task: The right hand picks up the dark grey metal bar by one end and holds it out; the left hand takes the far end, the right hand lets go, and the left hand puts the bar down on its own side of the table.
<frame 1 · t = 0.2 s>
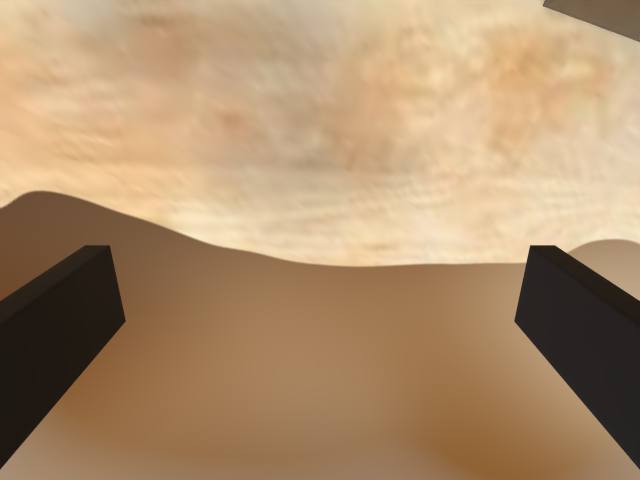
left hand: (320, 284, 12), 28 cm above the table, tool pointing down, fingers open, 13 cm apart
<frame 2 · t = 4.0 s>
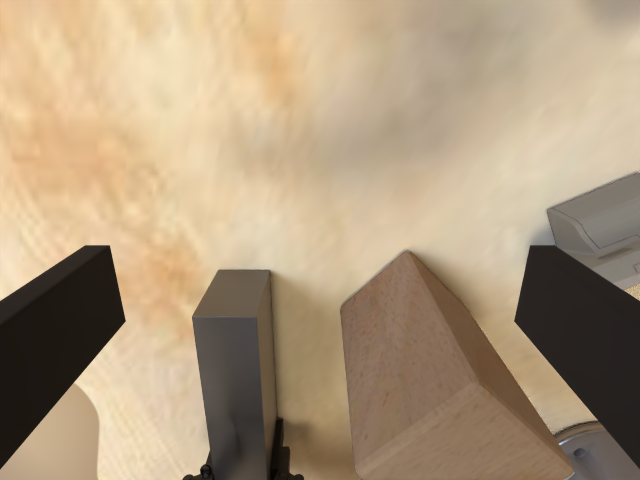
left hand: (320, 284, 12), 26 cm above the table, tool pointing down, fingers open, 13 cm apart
digital clock: (597, 226, 39), on the table
wooden block: (401, 306, 43), on the table
bar: (251, 366, 46), on the table, touching right hand
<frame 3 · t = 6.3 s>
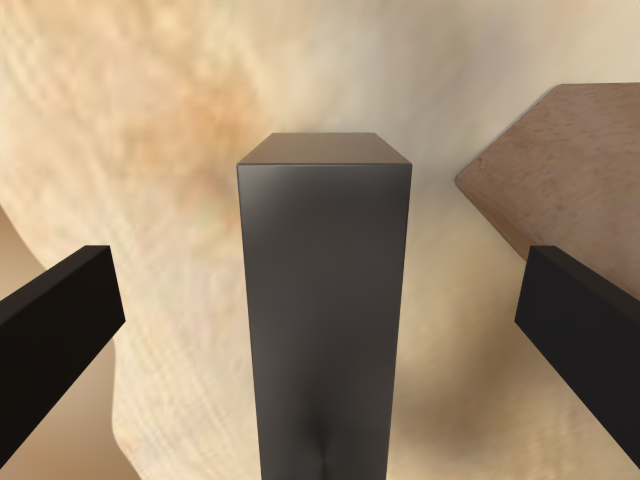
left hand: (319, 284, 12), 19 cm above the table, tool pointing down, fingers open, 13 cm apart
wooden block: (538, 177, 31), on the table
bar: (323, 334, 25), point 9 cm above the table, touching right hand
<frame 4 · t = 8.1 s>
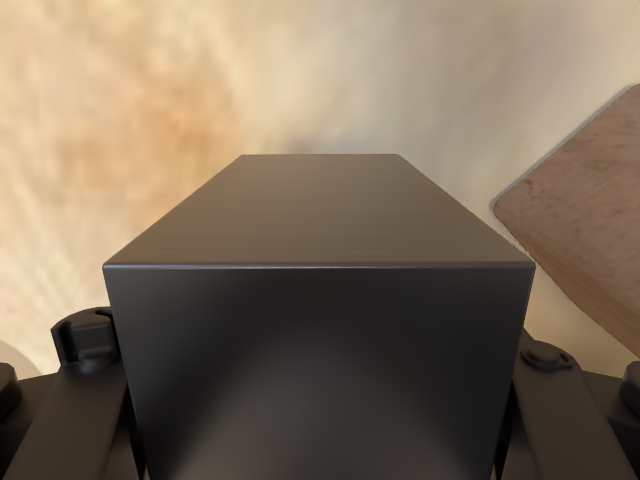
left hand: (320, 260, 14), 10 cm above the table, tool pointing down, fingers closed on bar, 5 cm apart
wooden block: (600, 204, 24), on the table
bar: (320, 431, 18), point 9 cm above the table, touching left hand, right hand
when the right hand's fingers open (10 cm above the table, at t = 8.8 s): bar stays where it is, held by the left hand.
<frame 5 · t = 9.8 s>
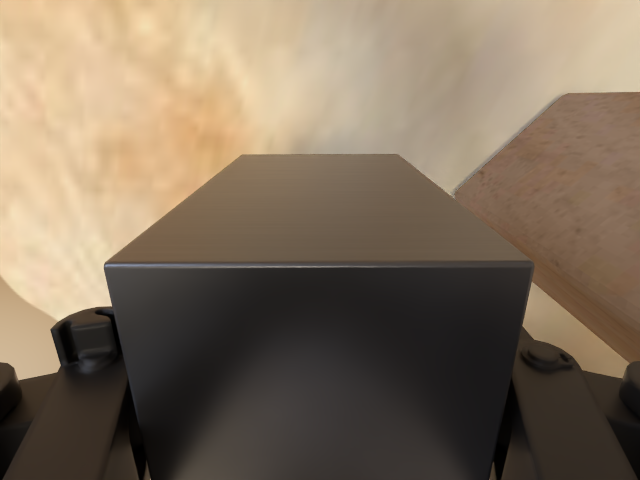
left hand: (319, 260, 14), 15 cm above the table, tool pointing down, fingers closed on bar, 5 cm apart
wooden block: (543, 191, 29), on the table
bar: (320, 431, 18), point 14 cm above the table, touching left hand
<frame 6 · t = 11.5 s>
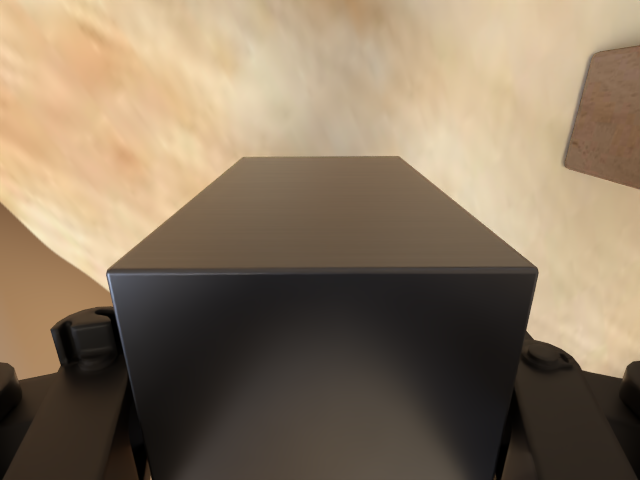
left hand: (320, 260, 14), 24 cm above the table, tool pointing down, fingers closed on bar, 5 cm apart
wooden block: (627, 115, 35), on the table
bar: (321, 433, 18), point 23 cm above the table, touching left hand
when the left hand's fingers open (2 cm above the table, at t = 15.3 s): bar drops 1 cm, on the table.
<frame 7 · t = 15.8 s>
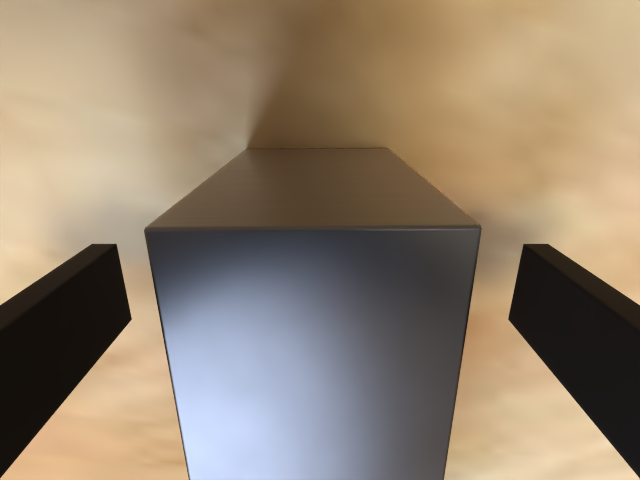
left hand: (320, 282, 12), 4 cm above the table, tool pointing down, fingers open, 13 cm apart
bar: (319, 406, 19), on the table
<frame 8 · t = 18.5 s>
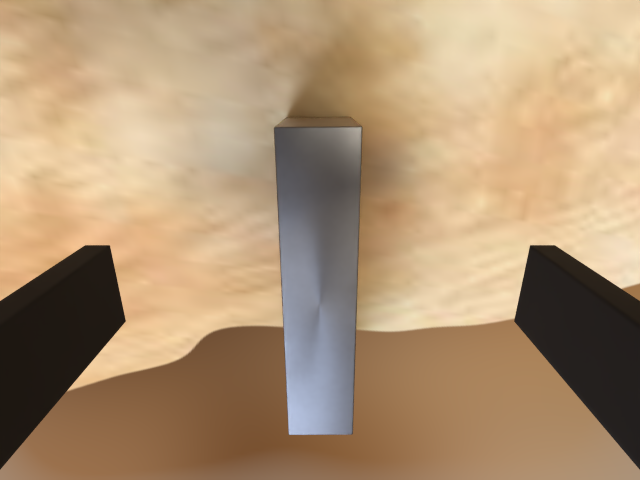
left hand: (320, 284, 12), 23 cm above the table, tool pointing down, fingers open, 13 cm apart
bar: (319, 255, 37), on the table
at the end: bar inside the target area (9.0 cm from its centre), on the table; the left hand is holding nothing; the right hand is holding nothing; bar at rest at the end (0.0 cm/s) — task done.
